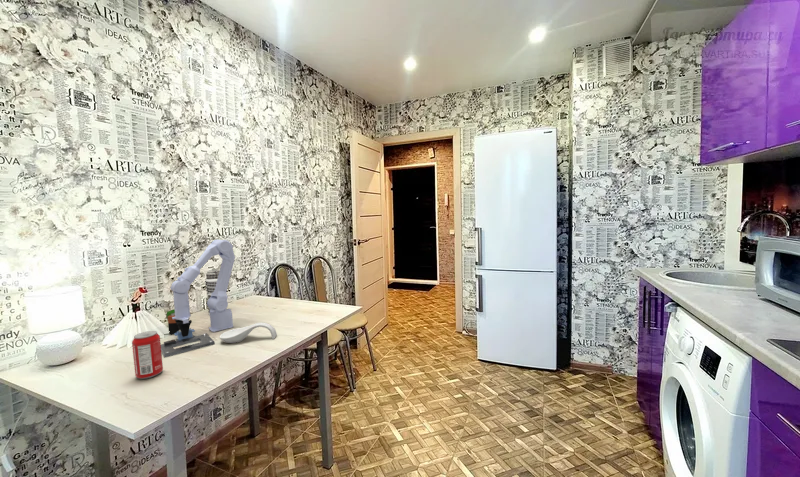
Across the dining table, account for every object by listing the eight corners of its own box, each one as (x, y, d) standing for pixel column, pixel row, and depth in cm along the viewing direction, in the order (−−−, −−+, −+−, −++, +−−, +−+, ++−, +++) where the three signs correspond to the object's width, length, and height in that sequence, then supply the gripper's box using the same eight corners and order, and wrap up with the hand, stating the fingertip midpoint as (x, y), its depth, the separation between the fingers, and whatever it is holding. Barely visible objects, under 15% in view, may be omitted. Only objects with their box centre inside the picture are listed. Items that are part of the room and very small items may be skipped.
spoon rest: (215, 347, 142) (213, 331, 141) (226, 337, 153) (225, 321, 153) (272, 342, 145) (271, 326, 144) (279, 333, 156) (278, 318, 156)
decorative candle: (205, 313, 190) (201, 270, 188) (222, 309, 197) (218, 268, 195) (211, 316, 184) (207, 272, 182) (228, 312, 191) (225, 269, 189)
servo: (193, 334, 157) (193, 326, 157) (195, 336, 154) (194, 328, 154) (174, 339, 152) (173, 330, 151) (175, 341, 149) (175, 332, 149)
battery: (186, 329, 165) (184, 309, 164) (178, 334, 158) (176, 314, 157) (177, 330, 164) (175, 310, 164) (168, 335, 158) (166, 314, 157)
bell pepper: (180, 327, 168) (178, 308, 167) (164, 328, 168) (162, 308, 167) (190, 322, 176) (189, 303, 176) (175, 322, 176) (173, 304, 176)
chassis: (206, 335, 155) (206, 331, 155) (214, 344, 144) (214, 339, 144) (159, 347, 143) (159, 342, 143) (164, 357, 132) (163, 352, 132)
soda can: (141, 382, 113) (137, 339, 111) (131, 377, 117) (127, 335, 115) (167, 372, 119) (163, 332, 118) (157, 367, 123) (153, 328, 122)
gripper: (168, 305, 155) (171, 333, 156) (174, 311, 144) (176, 341, 145) (186, 301, 159) (189, 329, 160) (192, 307, 148) (195, 337, 150)
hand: (184, 335), depth 153 cm, fingers closed on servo, 3 cm apart
